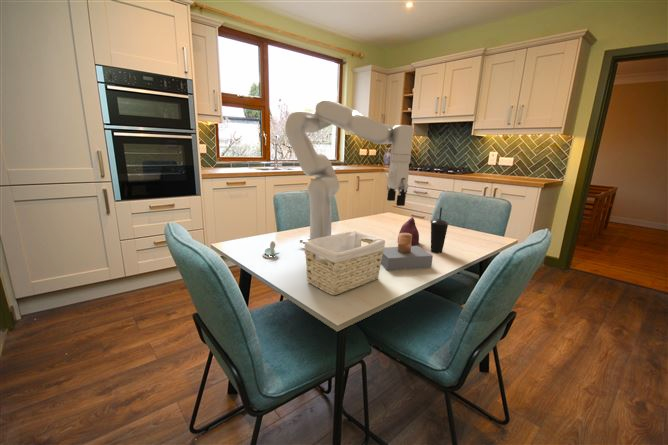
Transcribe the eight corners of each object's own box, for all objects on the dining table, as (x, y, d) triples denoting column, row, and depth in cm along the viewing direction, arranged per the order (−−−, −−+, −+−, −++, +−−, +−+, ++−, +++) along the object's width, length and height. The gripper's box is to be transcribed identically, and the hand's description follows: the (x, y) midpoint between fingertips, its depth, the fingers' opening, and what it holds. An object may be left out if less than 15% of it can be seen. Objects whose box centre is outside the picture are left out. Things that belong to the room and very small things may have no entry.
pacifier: (268, 260, 123) (281, 257, 126) (267, 246, 121) (280, 242, 125) (259, 255, 128) (272, 252, 132) (258, 241, 126) (271, 238, 130)
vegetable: (419, 252, 145) (428, 225, 138) (397, 249, 145) (406, 221, 138) (415, 240, 154) (424, 214, 147) (395, 237, 154) (402, 211, 147)
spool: (400, 254, 118) (402, 236, 116) (395, 249, 123) (396, 233, 121) (412, 253, 119) (414, 236, 118) (407, 249, 124) (408, 232, 122)
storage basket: (352, 265, 119) (353, 229, 116) (384, 279, 108) (387, 239, 104) (302, 282, 104) (301, 240, 100) (334, 300, 92) (335, 254, 88)
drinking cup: (445, 250, 139) (450, 206, 135) (445, 255, 132) (450, 210, 128) (427, 247, 142) (432, 205, 137) (427, 253, 135) (431, 208, 130)
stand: (387, 270, 115) (388, 258, 113) (376, 259, 126) (377, 247, 125) (431, 267, 118) (432, 255, 117) (416, 257, 130) (417, 245, 129)
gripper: (383, 157, 125) (379, 198, 129) (399, 160, 108) (394, 207, 113) (400, 158, 126) (396, 199, 131) (419, 161, 110) (413, 207, 114)
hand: (395, 203), depth 122 cm, fingers open, 9 cm apart
